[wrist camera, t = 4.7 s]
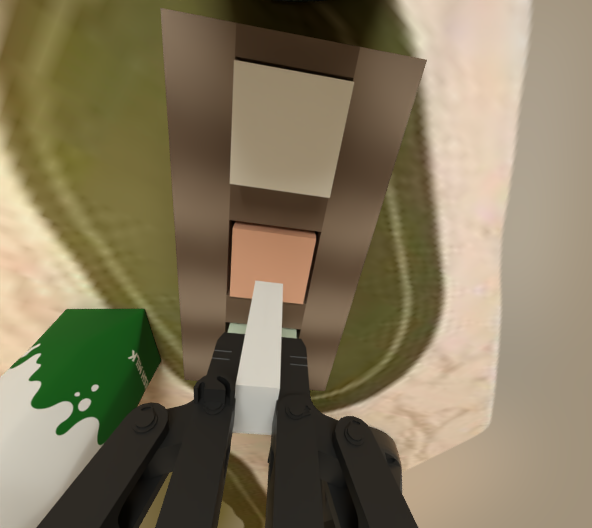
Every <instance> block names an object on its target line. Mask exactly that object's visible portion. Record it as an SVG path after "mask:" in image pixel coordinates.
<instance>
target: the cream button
mask: <svg viewBox="0 0 592 528" xmlns="http://www.w3.org/2000/svg"><path fill="white" fill-rule="evenodd" d="M353 86H354V82H352V81H347V80H341V79H336V78H331V77H325V76H320V75H314V74H309V73H303V72H298V71H292V70H287V69H281V68H276V67H270V66H265V65H259V64H254V63H249V62H243V61H238V60H234V73H233V102H232V131H231V160H230V184H235V185H242V186H249V187H256V188H263V189H270V190H277V191H284V192H291V193H298V194H305V195H312V196H319V197H326V198H330V194H331V190H332V185H333V180H334V176H335V171H336V166H337V162H338V157H339V152H340V147H341V143H342V138H343V133H344V129H345V124H346V119H347V114H348V110H349V105H350V100H351V96H352V91H353Z"/></svg>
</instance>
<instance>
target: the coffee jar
mask: <svg viewBox="0 0 592 528" xmlns="http://www.w3.org/2000/svg"><path fill="white" fill-rule="evenodd" d="M275 1H288V2H307V1H324V0H275Z"/></svg>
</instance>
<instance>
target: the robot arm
mask: <svg viewBox="0 0 592 528" xmlns="http://www.w3.org/2000/svg"><path fill="white" fill-rule="evenodd" d="M282 303H283V284H281V283H272V282H264V281H255V286H254V291H253V296H252V301H251V307H250V312H249V317H248V322H247V328H246V333H245V334H238V333H228V332H224V333H223V334H222V335H221V336H220V338H219V339H218V340H217V342H216V346H215V349H214V352H213V355H212V359H211V362H210V365H209V369H208V372H207V375H206V376H203V377H202V378H201V379H200V380H198V381H197V383H196V385H195V386H194V400H193V401H191V402H189V403H187V404H185V405H182V406H179V407H174V408H170V409H165V407H164V406H162V405H160V404H159V403H147V404H142V405H140V406H138V407H136V408H135V409H133V410H132V411H131V412H130V413H129V414H128V415H127V416H126V417H125V418H124V419H123V421H122V422H121V423H120V424H119V426H118V427H117V428H116V429H115V430H114V432H113V433H112V434H111V435H110V437H109V438H108V439H107V440H106V442H105V443H104V444H103V445H102V447H101V448H100V449H99V450H98V452H97V453H96V454H95V455H94V457H93V458H92V459H91V460H90V462H89V463H88V464H87V465H86V466H85V468H84V469H83V470H82V471H81V473H80V474H79V475H78V476H77V478H76V479H75V480H74V481H73V483H72V484H71V485H70V486H69V488H68V489H67V490H66V491H65V493H64V494H63V495H62V496H61V498H60V499H59V500H58V501H57V502H56V504H55V505H54V506H53V507H52V509H51V510H50V511H49V512H48V514H47V515H46V516H45V517H44V519H43V520H42V521H41V522H40V524H39V525H38V526H37V527H36V528H139V526H140V524H141V523H142V521H143V519H144V517H145V515H146V514H147V512H148V510H149V508H150V506H151V505H152V503H153V501H154V499H155V497H156V496H157V494H158V492H159V490H160V488H161V486H162V485H163V483H164V481H165V479H166V478H167V476H168V474H169V473H170V472H173V473H172V476H171V479H170V482H169V485H168V489H167V492H166V495H165V498H164V501H163V505H162V508H161V511H160V514H159V517H158V521H157V524H156V527H155V528H217V526H218V520H219V514H220V508H221V502H222V496H223V490H224V484H225V478H226V472H227V466H228V460H229V454H230V446H231V438H232V433H247V434H263V435H271V434H272V436H271V447H270V452H269V457H268V463H269V471H268V488H267V506H266V523H265V528H418V526H417V524H416V522H415V520H414V518H413V516H412V514H411V512H410V509H409V508H408V505H407V503H406V501H405V499H404V497H403V495H402V467H401V461H400V457H399V454H398V451H397V448H396V445H395V442H394V441H393V440H392V438H391V437H390V436H388V435H387V434H385V433H384V432H382V431H380V430H377V429H375V428H371V427H368V425H367V424H366V423H365V422H363V421H362V420H361V419H359V418H356V417H354V416H346V417H343V418H341V419H340V420H339V421H338V420H336V419H333V418H331V417H328V416H326V415H324V414H322V413H321V412H320V411H318V410H317V409H316V408H315V406H314V405H313V403H312V401H311V398H310V390H309V376H308V367H307V366H308V363H307V350H306V346H305V344H304V343H303V341H302V339H298V338H287V337H281V336H282Z"/></svg>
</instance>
